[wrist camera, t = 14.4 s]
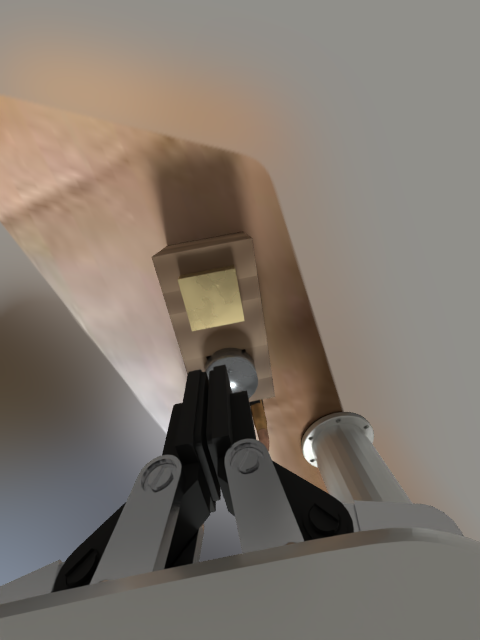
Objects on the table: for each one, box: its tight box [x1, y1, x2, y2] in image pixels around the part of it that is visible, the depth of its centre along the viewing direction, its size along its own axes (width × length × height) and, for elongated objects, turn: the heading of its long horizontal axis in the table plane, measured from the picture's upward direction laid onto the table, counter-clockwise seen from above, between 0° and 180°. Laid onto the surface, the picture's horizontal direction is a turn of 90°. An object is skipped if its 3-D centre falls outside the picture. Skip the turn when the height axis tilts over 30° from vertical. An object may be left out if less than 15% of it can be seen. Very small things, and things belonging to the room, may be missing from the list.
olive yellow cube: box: [178, 265, 245, 331], centre depth 25 cm, size 5×5×5 cm
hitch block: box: [152, 232, 275, 402], centre depth 30 cm, size 18×9×8 cm, turn 10°
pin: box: [205, 348, 258, 398], centre depth 30 cm, size 5×5×10 cm
